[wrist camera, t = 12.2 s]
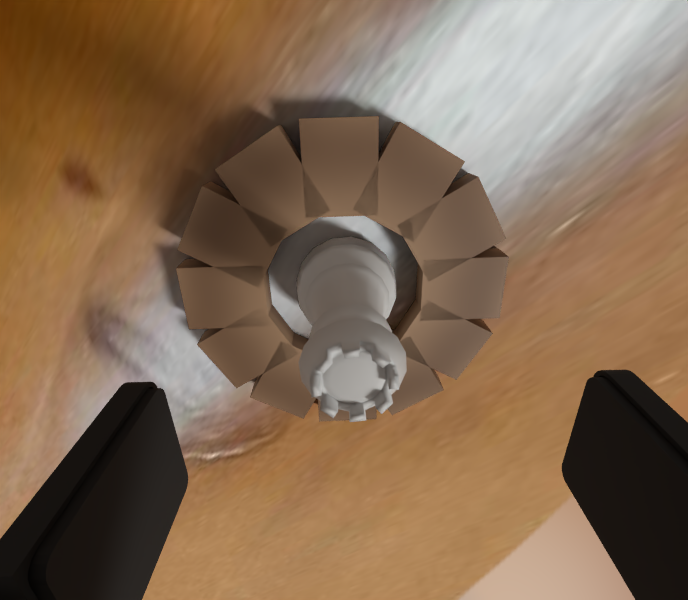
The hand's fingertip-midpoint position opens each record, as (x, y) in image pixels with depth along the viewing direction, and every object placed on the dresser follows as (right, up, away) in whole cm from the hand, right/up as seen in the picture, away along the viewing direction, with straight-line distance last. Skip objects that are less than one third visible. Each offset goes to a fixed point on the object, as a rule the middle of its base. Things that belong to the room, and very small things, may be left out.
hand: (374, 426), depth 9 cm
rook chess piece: (-1, +4, +10) cm, 10 cm away
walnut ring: (-1, +4, +9) cm, 10 cm away
